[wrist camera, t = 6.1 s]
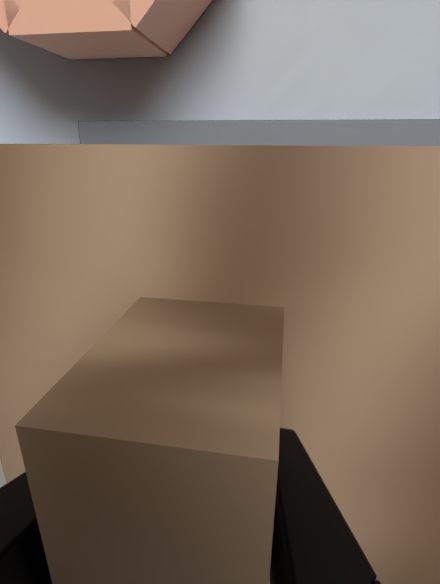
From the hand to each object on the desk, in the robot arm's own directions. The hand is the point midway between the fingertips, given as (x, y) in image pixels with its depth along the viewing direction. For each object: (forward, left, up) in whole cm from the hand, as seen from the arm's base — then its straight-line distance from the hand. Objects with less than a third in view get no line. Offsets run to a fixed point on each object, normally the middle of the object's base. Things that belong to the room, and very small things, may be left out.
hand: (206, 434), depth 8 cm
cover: (0, 0, -1) cm, 1 cm away
